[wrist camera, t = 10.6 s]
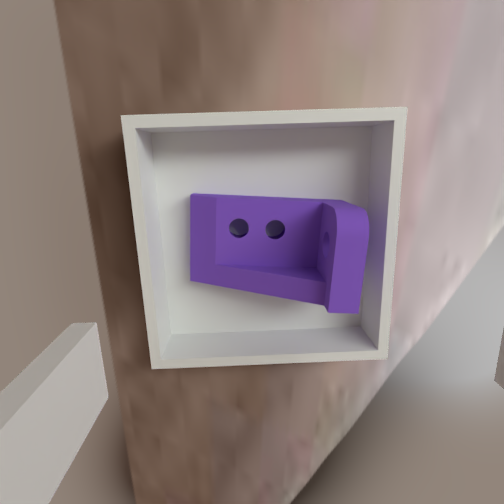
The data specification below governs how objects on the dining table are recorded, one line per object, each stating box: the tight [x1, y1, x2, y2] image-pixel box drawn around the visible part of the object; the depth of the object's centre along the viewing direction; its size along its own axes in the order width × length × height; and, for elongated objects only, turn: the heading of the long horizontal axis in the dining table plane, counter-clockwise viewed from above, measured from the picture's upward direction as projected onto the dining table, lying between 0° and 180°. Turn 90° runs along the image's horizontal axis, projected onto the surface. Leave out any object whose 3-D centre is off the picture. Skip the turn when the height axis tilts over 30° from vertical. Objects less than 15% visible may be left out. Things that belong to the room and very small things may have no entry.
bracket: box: [190, 193, 369, 314], centre depth 25 cm, size 12×7×7 cm, turn 87°
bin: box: [121, 107, 407, 369], centre depth 27 cm, size 19×19×5 cm
